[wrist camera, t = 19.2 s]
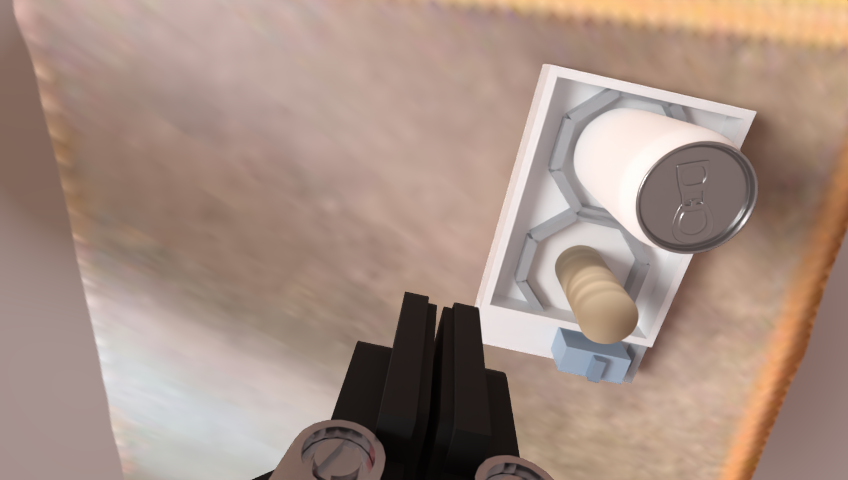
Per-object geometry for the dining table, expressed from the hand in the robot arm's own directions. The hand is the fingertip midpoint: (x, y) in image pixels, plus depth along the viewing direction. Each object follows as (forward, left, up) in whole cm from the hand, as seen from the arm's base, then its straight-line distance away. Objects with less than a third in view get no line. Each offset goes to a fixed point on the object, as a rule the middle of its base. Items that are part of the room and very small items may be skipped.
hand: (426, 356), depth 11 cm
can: (-2, +12, -26) cm, 29 cm away
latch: (+13, +15, -26) cm, 33 cm away
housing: (+4, +12, -27) cm, 30 cm away
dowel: (+7, +12, -26) cm, 29 cm away
